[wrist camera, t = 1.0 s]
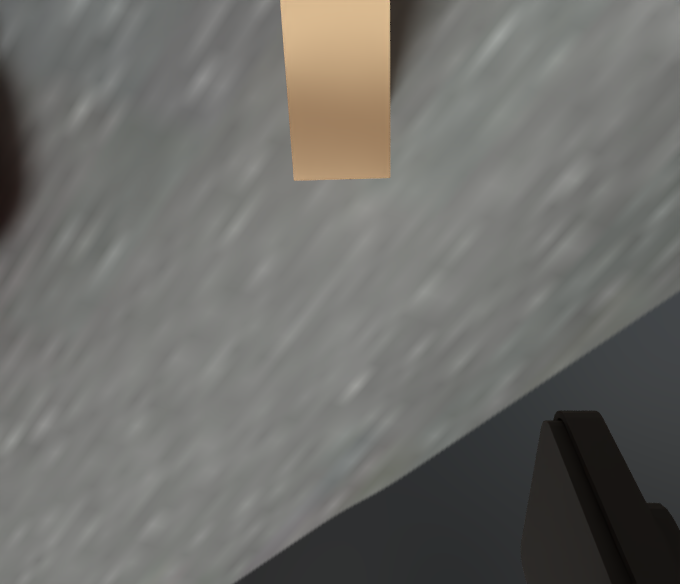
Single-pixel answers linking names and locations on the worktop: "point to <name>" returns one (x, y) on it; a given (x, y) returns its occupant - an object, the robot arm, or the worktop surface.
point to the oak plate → (338, 87)
